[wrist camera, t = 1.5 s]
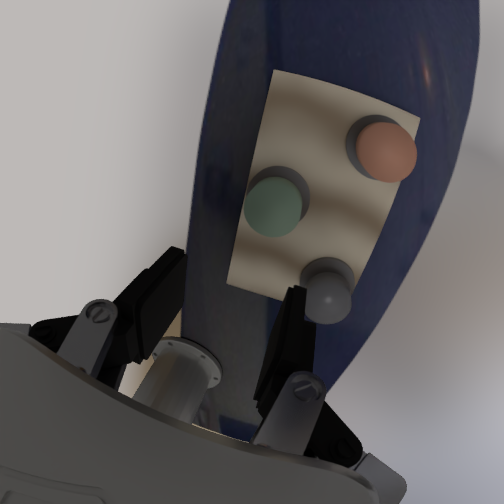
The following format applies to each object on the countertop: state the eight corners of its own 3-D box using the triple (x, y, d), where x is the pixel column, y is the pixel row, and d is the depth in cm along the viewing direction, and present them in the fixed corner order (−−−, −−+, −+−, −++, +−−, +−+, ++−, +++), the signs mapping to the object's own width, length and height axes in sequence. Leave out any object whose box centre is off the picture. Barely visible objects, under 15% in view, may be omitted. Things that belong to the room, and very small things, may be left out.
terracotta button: (397, 184, 19) (405, 191, 18) (348, 165, 20) (352, 170, 18) (414, 134, 17) (423, 136, 15) (364, 113, 18) (369, 113, 16)
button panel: (338, 303, 31) (339, 321, 28) (232, 271, 32) (224, 287, 29) (411, 117, 20) (423, 118, 17) (277, 74, 21) (272, 68, 18)
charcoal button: (339, 314, 27) (339, 328, 25) (298, 302, 27) (296, 316, 25) (357, 279, 24) (359, 293, 22) (313, 266, 25) (312, 279, 23)
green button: (294, 233, 24) (291, 244, 22) (245, 218, 24) (238, 228, 22) (308, 185, 21) (307, 192, 20) (256, 170, 22) (250, 176, 20)
